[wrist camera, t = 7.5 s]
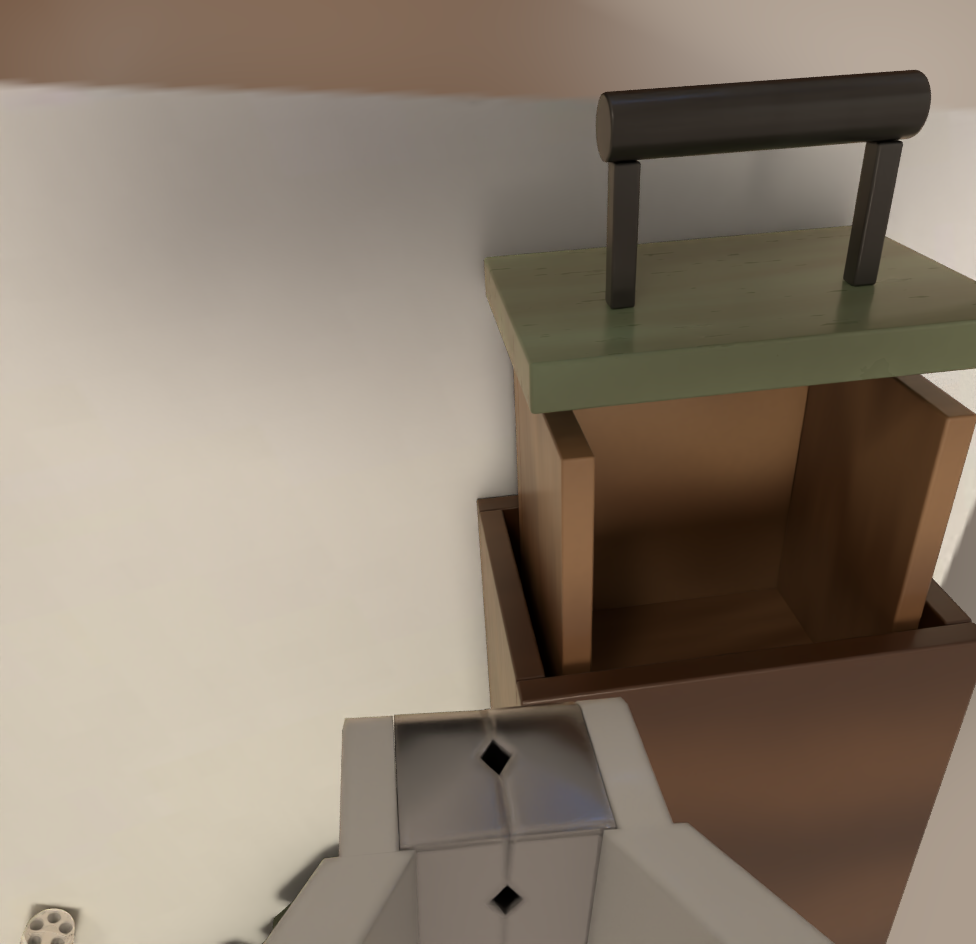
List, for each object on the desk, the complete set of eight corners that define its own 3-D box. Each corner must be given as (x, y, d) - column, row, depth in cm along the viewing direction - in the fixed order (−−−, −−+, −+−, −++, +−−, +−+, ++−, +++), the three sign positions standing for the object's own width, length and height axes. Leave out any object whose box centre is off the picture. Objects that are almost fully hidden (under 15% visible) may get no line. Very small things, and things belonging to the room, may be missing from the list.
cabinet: (476, 498, 29) (520, 702, 21) (822, 460, 30) (992, 640, 22) (495, 777, 37) (533, 1008, 28) (771, 739, 38) (884, 951, 30)
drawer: (473, 76, 22) (522, 120, 15) (894, 46, 22) (1118, 76, 16) (502, 617, 31) (540, 793, 24) (798, 581, 32) (913, 740, 25)
